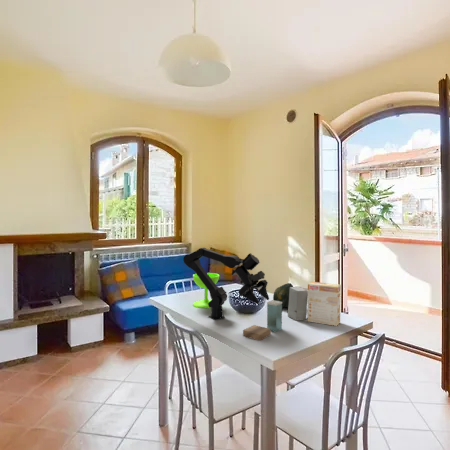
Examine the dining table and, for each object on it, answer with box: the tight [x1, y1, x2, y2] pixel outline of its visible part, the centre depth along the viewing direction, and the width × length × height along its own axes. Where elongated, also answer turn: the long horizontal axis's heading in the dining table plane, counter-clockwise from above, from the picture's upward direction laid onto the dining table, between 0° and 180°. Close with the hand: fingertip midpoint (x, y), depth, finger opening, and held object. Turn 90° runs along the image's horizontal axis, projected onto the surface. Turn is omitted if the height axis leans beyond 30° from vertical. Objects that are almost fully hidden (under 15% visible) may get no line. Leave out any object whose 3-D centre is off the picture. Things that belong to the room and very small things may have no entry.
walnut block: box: [242, 324, 272, 341], centre depth 149 cm, size 9×9×3 cm
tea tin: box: [266, 299, 283, 333], centre depth 157 cm, size 5×5×13 cm
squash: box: [272, 282, 294, 309], centre depth 195 cm, size 14×15×15 cm
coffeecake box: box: [307, 281, 342, 327], centre depth 168 cm, size 15×7×20 cm, turn 58°
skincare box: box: [287, 286, 308, 322], centre depth 174 cm, size 8×7×16 cm
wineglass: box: [192, 272, 220, 309], centre depth 199 cm, size 16×16×18 cm
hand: (263, 301), depth 160 cm, fingers open, 9 cm apart
